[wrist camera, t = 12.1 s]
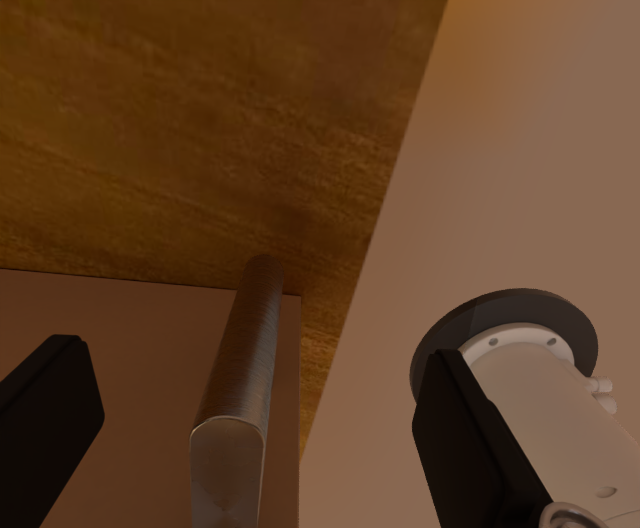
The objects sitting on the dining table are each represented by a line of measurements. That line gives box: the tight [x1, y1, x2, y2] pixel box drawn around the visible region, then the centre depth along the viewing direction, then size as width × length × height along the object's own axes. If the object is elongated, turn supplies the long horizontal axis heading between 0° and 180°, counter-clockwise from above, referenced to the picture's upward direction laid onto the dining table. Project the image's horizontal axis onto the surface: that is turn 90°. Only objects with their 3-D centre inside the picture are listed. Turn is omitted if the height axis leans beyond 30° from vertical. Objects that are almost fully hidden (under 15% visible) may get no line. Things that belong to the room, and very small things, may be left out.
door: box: [0, 254, 301, 528], centre depth 15 cm, size 8×24×24 cm, turn 83°
